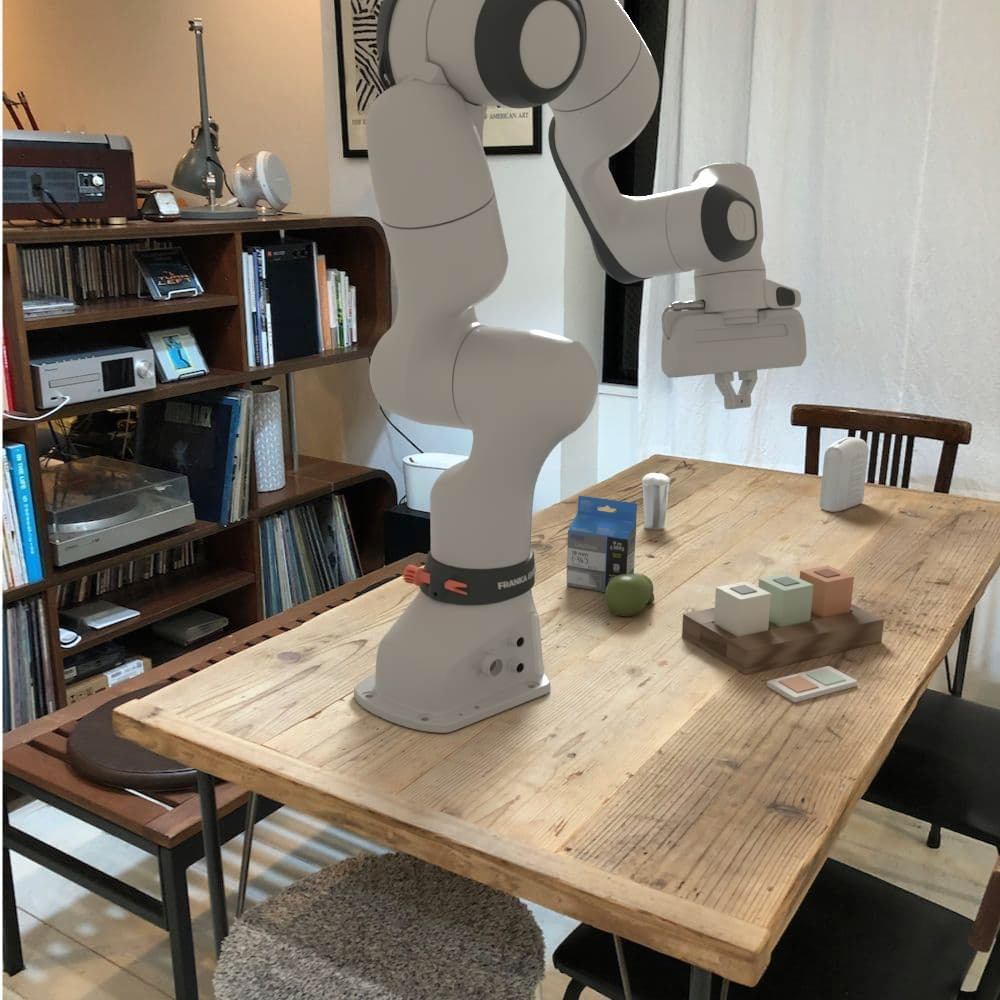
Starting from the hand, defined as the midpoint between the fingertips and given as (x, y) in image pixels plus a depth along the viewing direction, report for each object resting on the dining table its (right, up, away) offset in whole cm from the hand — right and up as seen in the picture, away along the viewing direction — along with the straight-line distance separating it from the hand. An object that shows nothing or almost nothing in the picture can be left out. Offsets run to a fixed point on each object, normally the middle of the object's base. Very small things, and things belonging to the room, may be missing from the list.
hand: (738, 408), depth 131 cm
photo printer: (+30, -13, +52) cm, 61 cm away
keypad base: (+4, -29, -5) cm, 29 cm away
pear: (-13, -26, +5) cm, 30 cm away
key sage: (+4, -26, -5) cm, 27 cm away
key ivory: (-2, -27, -8) cm, 28 cm away
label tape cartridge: (-16, -24, +13) cm, 32 cm away
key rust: (+10, -25, -3) cm, 27 cm away
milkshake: (-4, -16, +39) cm, 42 cm away
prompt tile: (+4, -32, -17) cm, 37 cm away
